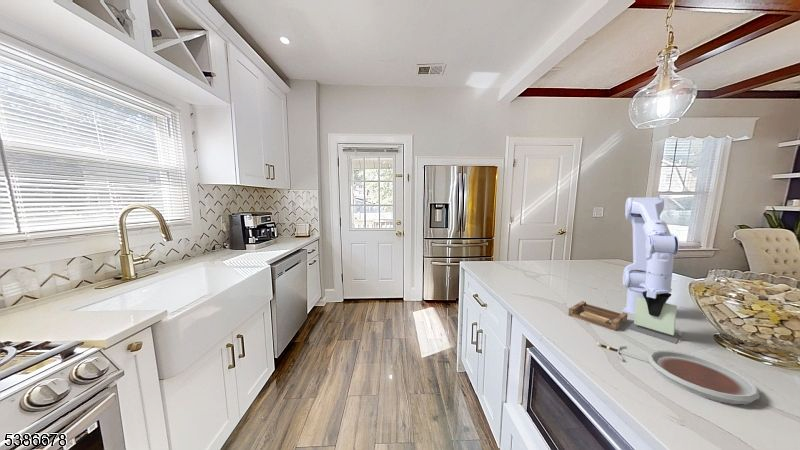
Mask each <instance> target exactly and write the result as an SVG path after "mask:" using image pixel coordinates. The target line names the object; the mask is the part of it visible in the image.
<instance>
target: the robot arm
mask: <svg viewBox="0 0 800 450" xmlns="http://www.w3.org/2000/svg"><path fill="white" fill-rule="evenodd" d="M624 208H625V210H624V211H625V212H624V213H625V214H624V215H625V220H627V221H629V222H630V223H631V226H632V263H630V264H629V265H628V264H627V265H626V266H625V267H624V268H623V273H622V284H623V286H624V287H625V288H627V290H626V302H625V303H626V304H625V307H624V308H622V309H621V311H622V312H624V313H629V314H633V315H635V304H636V297H641V298H645V300H646V302H647V306H648V311H649V315H652V316H656V317H659V315H660V313H661V310H662V307H663V305H664V303H667V301H668V300H669V298H671V296H672V290H673V289H672V288H671V287H672V279H673V270H674V269H673V268H674V258H675V255H677V254H678V252H679V248H680V242H679V238H678V236H677V235H675V234H673V233H671V231H670V229H669V227H668V224H667V223H666V221H664V220H662V219H661V217H660V216H661V215H662V212H663V211H664V208H665V200H664V198H663V197H662V196H657V197H656V196H655V197H653V196H650V197H631V196H630V197H627V199H626V201H625V207H624Z"/></svg>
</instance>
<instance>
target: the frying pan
mask: <svg viewBox="0 0 800 450" xmlns="http://www.w3.org/2000/svg"><path fill="white" fill-rule="evenodd" d="M595 346H597V347H600V348H603V349H606V350H610V351H613V352H615V353H616V356H617V358H619V360H620V361H621V362H624V357H622V355H624V356H627V357H631V358H634V359H636V360H640V361H643V362H645V363H650V365H651V367H652V369H653V370H654V372H656V373H657V374H658V375H659V376H660V377H662V378H663V379H664V380H665V381H667V382H668V383H670V384H672V385H675V386H676V387H678V388H680V389H682V390H685V391H686V392H689V393H691V394H694V395H696V396H699V397H702V398H704V399H709V400H712V401H715V402H718V403H722V402H723V404H727V403H729V404H728V405H733V404H744V405H743V406H747V405H750V404H751V403H754V401H757V400H758V399H760V391H759V390H758V387H756V386H755V385H754V383H753V382H752V381H751V380H749V379H748V378H747V377H745V376H744V375H742V374H740V373H739V372H737V371H735V370H733V369H731V368H730V367H727V366H725V365H722V364H720V363H717V362H715V361H713V360H710V359H707V358H705V357H701V356H698V355H695V354H691V353H686V352H682V351H675V350H667V349H665V350H664V349H657V350H654V351H652V352H650V354H649V355H648V357H647V358H646V357H642V356H640V355H637V354H633V353H631V352H630V353H629V352H627V351H624V350H622V349H627V348H628V347H627V345H621V346H618V348H613V347H611V346H609V345H605V344H602V343H601V342H600V341H597V342H596V343H595ZM620 354H621V355H620ZM749 403H750V404H749Z"/></svg>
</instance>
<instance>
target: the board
mask: <svg viewBox="0 0 800 450" xmlns="http://www.w3.org/2000/svg"><path fill="white" fill-rule="evenodd" d="M677 308H678V305H675V304H672V303H667V302H666V303H664V305H663V307H662V310H661V313H660V315H659V317H656V316H652V315H649V311H648V306H647V302H646V300H645V298H641V297H636V304H635V314H634V319H633V322H634V324H636V325H640V326H643V327H646V328H650V329H653V330H657V331H660V332H664V333H667V334H670V335H674V333H676V332H675V331H676V317H677Z"/></svg>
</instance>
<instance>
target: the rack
mask: <svg viewBox="0 0 800 450" xmlns="http://www.w3.org/2000/svg"><path fill="white" fill-rule="evenodd" d="M584 311H585V312H588V313H591V314H595V315H598V316H601V317H604V318H607V319H610V323H609V324H606V323H603V322H600V321H597V320H594V319H590V318H587V317H584V316H581V315H580V313H582V312H584ZM568 316H570V317H572V318H576V319H578V320H582V321H585V322H588V323H590V324H593V325H597V326H600V327H602V328H606V329H609V330H611V331H614V332H616V331H617V330H618V329H619V328H620V327H622V326H623V325H624V324H625V323H626V322H627V321H628V312H625V311H622V313H620V312H617V311H613V310H610V309H606V308H602V307H599V306H596V305H593V304H590V303H589V304H588V303H587V302H586V301H584V300H582V301H580V302H578V303H576V304H574V305H573V306H571V307H569V308H568Z"/></svg>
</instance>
